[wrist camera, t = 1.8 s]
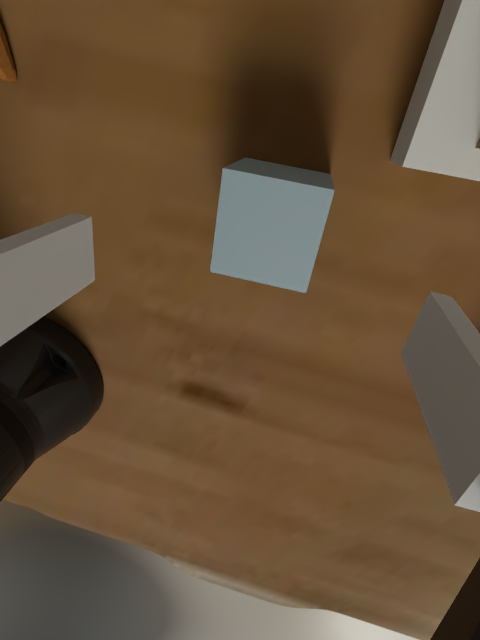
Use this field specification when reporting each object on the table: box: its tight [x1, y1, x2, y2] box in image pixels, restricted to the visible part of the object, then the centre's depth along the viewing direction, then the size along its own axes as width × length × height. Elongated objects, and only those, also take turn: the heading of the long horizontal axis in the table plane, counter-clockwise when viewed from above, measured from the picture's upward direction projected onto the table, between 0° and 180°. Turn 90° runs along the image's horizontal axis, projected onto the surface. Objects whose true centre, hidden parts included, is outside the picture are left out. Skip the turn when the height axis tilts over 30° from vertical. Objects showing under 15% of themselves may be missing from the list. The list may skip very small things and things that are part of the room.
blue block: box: [210, 158, 335, 293], centre depth 23 cm, size 6×6×7 cm
